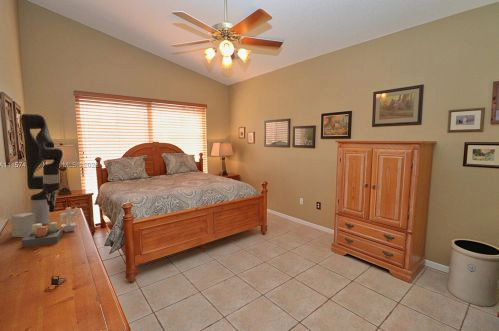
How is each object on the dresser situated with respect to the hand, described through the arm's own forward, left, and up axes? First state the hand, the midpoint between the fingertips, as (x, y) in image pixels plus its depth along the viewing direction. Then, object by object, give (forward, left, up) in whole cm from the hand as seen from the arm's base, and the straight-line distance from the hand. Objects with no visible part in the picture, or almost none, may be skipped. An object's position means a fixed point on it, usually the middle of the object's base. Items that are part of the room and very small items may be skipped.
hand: (51, 211), depth 140 cm
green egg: (0, 0, -13) cm, 13 cm away
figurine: (-12, +6, -16) cm, 21 cm away
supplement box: (-12, -16, -16) cm, 26 cm away
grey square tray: (+3, -3, -16) cm, 17 cm away
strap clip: (+59, +12, -17) cm, 62 cm away
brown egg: (+6, -3, -13) cm, 15 cm away
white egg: (0, -7, -13) cm, 15 cm away
